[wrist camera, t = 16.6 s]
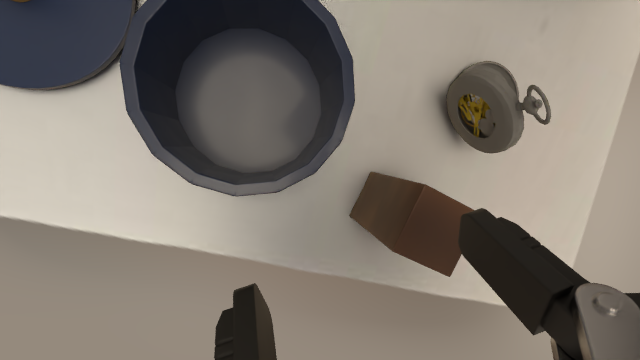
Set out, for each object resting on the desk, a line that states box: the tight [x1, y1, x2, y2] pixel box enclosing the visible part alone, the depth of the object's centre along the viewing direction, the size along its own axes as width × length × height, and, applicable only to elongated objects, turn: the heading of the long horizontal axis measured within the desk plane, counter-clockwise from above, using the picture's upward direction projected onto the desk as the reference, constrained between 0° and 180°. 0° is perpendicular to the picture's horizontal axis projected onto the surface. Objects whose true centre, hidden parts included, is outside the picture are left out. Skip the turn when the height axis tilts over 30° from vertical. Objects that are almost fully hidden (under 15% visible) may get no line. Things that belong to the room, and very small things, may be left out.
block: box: [350, 172, 475, 277], centre depth 22 cm, size 4×4×9 cm
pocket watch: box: [447, 61, 551, 153], centre depth 22 cm, size 8×8×10 cm
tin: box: [120, 0, 355, 196], centre depth 20 cm, size 12×12×8 cm
